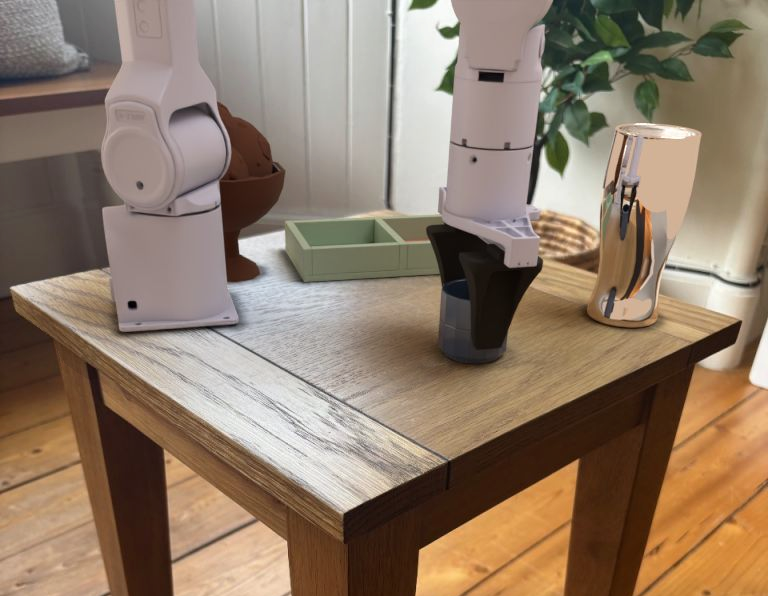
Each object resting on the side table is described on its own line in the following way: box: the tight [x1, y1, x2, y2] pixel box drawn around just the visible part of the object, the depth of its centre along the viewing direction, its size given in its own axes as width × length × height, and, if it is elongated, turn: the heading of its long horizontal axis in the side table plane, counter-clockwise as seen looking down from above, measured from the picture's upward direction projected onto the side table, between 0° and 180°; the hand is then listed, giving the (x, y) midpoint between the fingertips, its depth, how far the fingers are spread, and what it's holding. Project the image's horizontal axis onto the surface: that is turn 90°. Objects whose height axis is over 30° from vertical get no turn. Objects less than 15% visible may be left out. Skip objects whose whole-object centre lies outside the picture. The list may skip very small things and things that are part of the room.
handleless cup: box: [437, 278, 509, 365], centre depth 63 cm, size 5×5×5 cm
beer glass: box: [586, 122, 703, 329], centre depth 67 cm, size 7×7×15 cm
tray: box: [284, 213, 444, 283], centre depth 82 cm, size 19×10×3 cm, turn 106°
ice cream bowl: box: [217, 101, 286, 283], centre depth 74 cm, size 11×11×15 cm
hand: (473, 332), depth 63 cm, fingers closed on handleless cup, 5 cm apart
